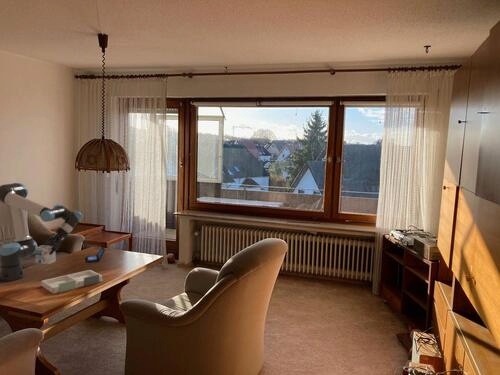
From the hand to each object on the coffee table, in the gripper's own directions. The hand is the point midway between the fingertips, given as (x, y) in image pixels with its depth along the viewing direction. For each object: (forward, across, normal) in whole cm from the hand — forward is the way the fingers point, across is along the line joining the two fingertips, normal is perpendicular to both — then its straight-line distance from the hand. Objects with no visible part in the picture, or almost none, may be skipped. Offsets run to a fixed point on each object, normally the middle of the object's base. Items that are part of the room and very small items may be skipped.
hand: (41, 256), depth 259 cm
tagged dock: (+3, -14, -23) cm, 27 cm away
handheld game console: (-22, +28, -49) cm, 61 cm away
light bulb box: (+2, 0, -5) cm, 5 cm away
